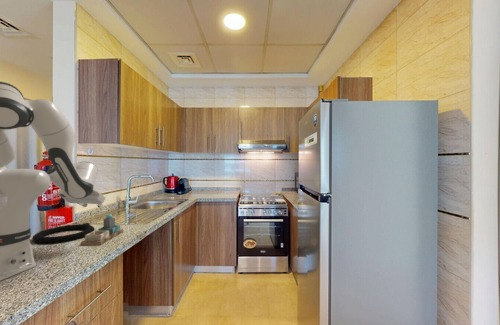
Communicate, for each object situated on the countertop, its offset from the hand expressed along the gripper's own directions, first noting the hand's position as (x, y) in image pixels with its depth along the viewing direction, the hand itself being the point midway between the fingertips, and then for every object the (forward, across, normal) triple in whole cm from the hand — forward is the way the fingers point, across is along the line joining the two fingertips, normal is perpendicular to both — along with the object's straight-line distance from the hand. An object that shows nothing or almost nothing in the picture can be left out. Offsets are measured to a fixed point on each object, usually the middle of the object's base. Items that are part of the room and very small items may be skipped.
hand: (93, 206), depth 124 cm
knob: (+19, 0, +5) cm, 20 cm away
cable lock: (+17, +23, +9) cm, 30 cm away
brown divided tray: (+16, -2, +9) cm, 19 cm away
